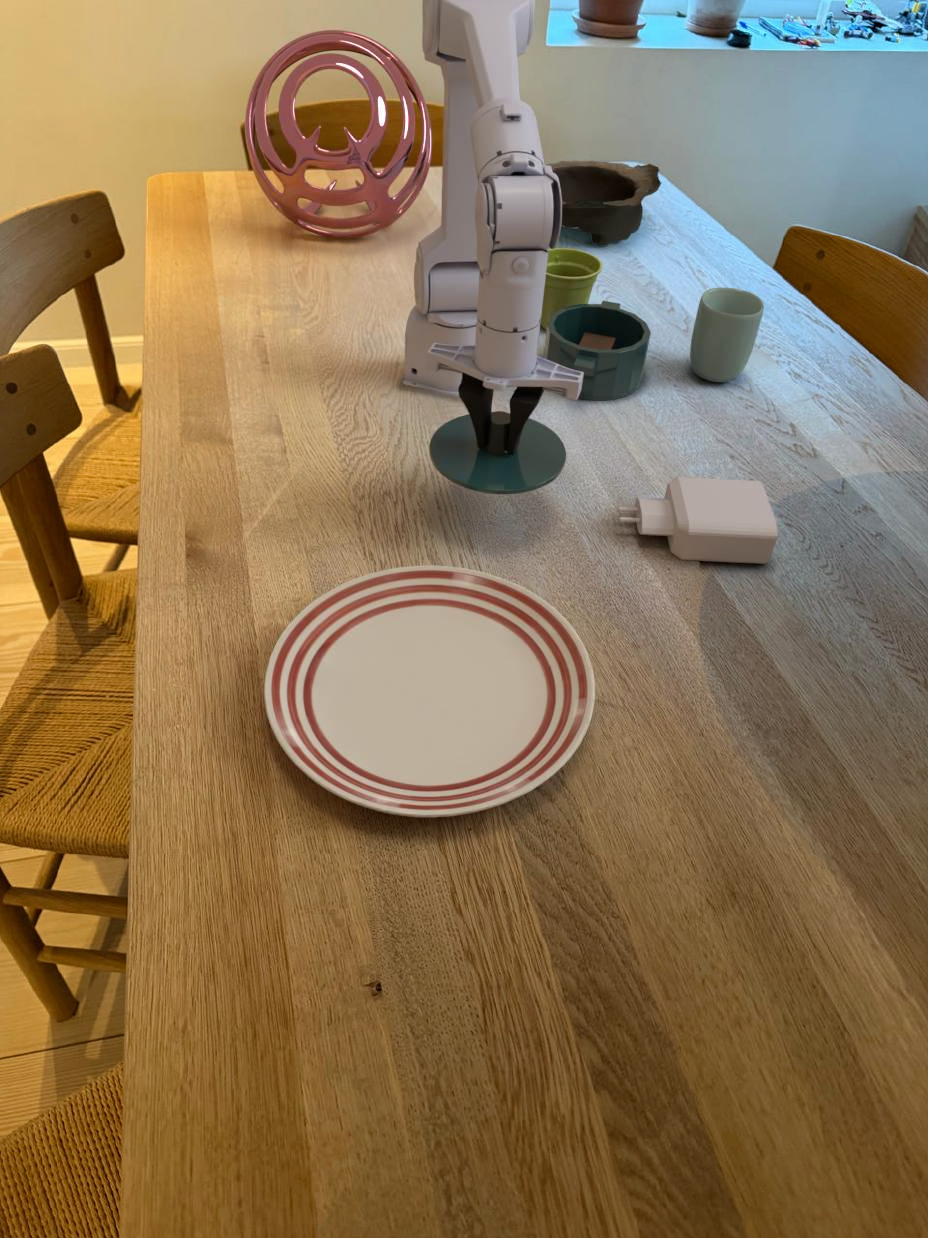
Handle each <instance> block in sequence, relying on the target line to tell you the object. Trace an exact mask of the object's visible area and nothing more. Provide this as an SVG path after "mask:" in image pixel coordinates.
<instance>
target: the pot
mask: <svg viewBox="0 0 928 1238" xmlns="http://www.w3.org/2000/svg"><path fill="white" fill-rule="evenodd" d="M585 332H586V333H591V334H597V335H602V336H607V337H613V338H616V339H615V345H614V350H598V349H593V348H588V347H582V346H579V344H580V342H581V339H582V337H583V335H584V333H585ZM651 335H652V332H651V330H650V328H649V325H648V323H647V322H646V321H645V320H643V319H642V318H641V317H640V316H639V315H637V314H636V313H633V312H630V311H628V310H625V309H623V308H621V303H618V302H614V301H613V302H612V301H606V300H602V301H601V303H588V304H577V305H573V306H568V307H563V308H562V309H560V310H558V311H556V312H555V313H553V314H552V315H551V317H550V318H549V320H548V322H547V328H546V329H545V337H544V338H545V339H544V347H543V354H542V355H543V356H542V358H544V359H547V360H549V361H552V362H554V363H557V364H559V365H561V366H564V367H567V368H569V369H573V370H576V371H581V372H584V375H583V382H582V389H581V392H580V395H579V397H578V399H581V400H589V401H611V400H618V399H621V398H625V397H627V396H629V395H632V394H633V393H634V392H635V391H637V390H638V388H639V387H640V385H641V382H642V378H643V374H644V371H645V364H646V359H647V354H648V351H649V350H648V349H649V344H650V340H651Z"/></svg>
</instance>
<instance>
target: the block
mask: <svg viewBox="0 0 928 1238" xmlns="http://www.w3.org/2000/svg"><path fill="white" fill-rule="evenodd" d="M615 339H616V338H613V337H607V336H602V335H597V334H591V333H586V332H585V333H584V335H583V337H582V339H581V342H580V344H579V346H582V347H588V348H593V349H598V350H614V345H615Z"/></svg>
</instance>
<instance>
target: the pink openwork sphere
mask: <svg viewBox="0 0 928 1238" xmlns="http://www.w3.org/2000/svg"><path fill="white" fill-rule="evenodd" d="M336 51H337V52H338V51H339V52H340V51H341V52H351V53H356V54H359V55H363V56H365V57H368V58H371V59H373V60H374V61H375V62H377V63H378V64H379V65H380V67H382V69H383V70H384V71H385V72H386V73H387V75H388V76H389V77H390V79H391V81H392V83H393V85H394V87H395V89H396V92H397V94H398V97H399V101H400V105H401V113H402V127H401V134H400V138H399V142H398V144H397V148H396V150H395V152H394V154H393V156H392V157H391V159H390V161H389V162H388V163H387V165H386V166H385V167H384V168H383V169H382V170H381V171H377V170H376V169H375V168H374V166H373V165H372V161H371V160H372V159H371V158H372V157H373V154H375V152H376V151H377V150H378V148H379V147H380V145H381V143H382V141H383V139H384V136H385V134H386V130H387V127H388V117H389V112H388V109H389V108H388V102H387V98H386V95H385V92H384V89H383V87H382V85H381V83H380V81H379V80H378V78H377V76H375V74H374V73H373V72H372V71H371V70H370V69H369V68H368V67H367V66H366V65H365V64H364V63H362V62H360V61H359V60H357V59H356V58H354V57H351V56H348V55H346V54H341V53H332V52H336ZM324 52H327V53H324ZM329 52H331V53H329ZM319 53H321V54H319ZM312 55H314V56H312ZM310 56H311V57H310ZM307 57H309V58H307ZM305 58H307V59H305ZM302 59H305V60H303V61H302V62H300V63H299V64H298V65H296V67H294V69H293V70H292V71H291V72H290V73H289V74H288V76H287V78H286V79H285V81H284V84H283V86H282V88H281V90H280V94H279V98H278V99H279V100H278V120H279V125H280V128H281V131H282V135H283V137H284V138H285V140H286V142H287V143H288V146H289V147H290V148H291V149H292V151H293V153H294V154H295V157H296V159H295V162H294V165H293V166H292V167H291V168H289V167H288V166H286V165H285V163H284V162H283V161H282V160H281V158H280V157H279V155H278V153H277V151H276V150H275V148H274V146H273V143H272V140H271V138H270V134H269V130H268V125H267V124H268V123H267V105H268V99H269V94H270V91H271V89H272V86H273V84H274V82H275V81H277V79H278V78H279V77H280V75H282V74H283V72H284V71H286V70H287V69H289V67H291V66H293V65H294V64H295V63H298V62H299V61H300V60H302ZM324 70H339V71H342V72H345V73H347V74H349V75H350V76H352V77H354V78H355V79H356V80H357V81H358V82H359V83H360V85H361V86H362V87H363V88H364V90H365V92H366V94H367V97H368V99H369V105H370V118H369V123H368V126H367V129H366V130H365V132H364V134H363V135H362V137H361V138H360V139H356V138H355V136H353V134H352V133H351V132H350V130H348V128H347V127H345V126H343V127H342V128H343V132H344V135H345V137H346V141H347V144H348V145H347V147H346V148H344V149H339V150H329V149H324V148H321V147H319V145H318V139H319V136H320V134H321V131H322V125H318V126H317V128H316V129H315V130H314V131H313V132H312V134H311V135H309V137H306V136H305V135H304V134H303V132H302V131H301V129H300V127H299V125H298V122H297V119H296V114H295V113H296V111H295V106H296V105H295V104H296V98H297V96H298V93H299V90H300V88H301V86H302V85H303V84H304V82H305V81H307V79H308V78H310V77H311V76H312V75H313V74H314V75H315V73H318V72H321V71H324ZM412 98H413V99H414V100H415V102H416V105H417V108H418V110H419V112H420V116H421V117H420V118H421V145H420V150H419V154H418V158H417V161H416V163H415V166H414V168H413V171H412V172H411V175H410V176H409V178H408V180H407V181H406V182H405V184H404V186H403V187H402V188H401V189H400V190H399V192H397V194H395V195H394V196H391V195H389V189H390V187H391V186H392V184H393V183H394V182H395V181H396V179H398V177H399V176H400V174H401V173H402V171H403V170H404V168H405V166H406V164H407V162H408V160H409V158H410V155H411V153H412V149H413V145H414V141H415V135H416V113H415V112H416V111H415V105H414V102H413V99H412ZM244 135H245V142H246V149H247V153H248V155H249V156H248V158H249V161H250V165H251V168H252V171H253V174H254V176H255V179H256V181H257V183H258V185H259V187H260V189H261V190H262V192H263V194H264V195H265V197H266V199H268V201H269V202H270V203H271V205H272V206H273V207H274V209H276V210H277V211H278V212H279V213H280V214H281V215H282V216H283V217H285V219H287V220H288V221H290V222H291V223H293V224H294V225H295V226H297V227H299V228H301V229H303V230H305V231H307V232H309V233H312V234H314V235H318V236H321V237H325V238H330V239H344V240H345V239H357V238H362V237H367V236H369V235H372V234H375V233H378V232H380V231H382V230H384V229H386V228H388V227H389V226H391V225H393V224H394V223H395V222H397V221H398V220H399V219H400V218H401V217H402V216H403V215H404V214H405V213H406V212H407V211H408V210H409V209H410V207H412V205H413V204H414V203H415V201H416V200H417V198H418V197H419V195H420V193H421V191H422V190H423V187H424V185H425V183H426V180H427V177H428V174H429V171H430V167H431V164H432V163H431V162H432V156H433V155H432V154H433V131H432V124H431V119H430V114H429V111H428V107H427V103H426V100H425V97H424V94H423V92H422V90H421V87H420V86H419V83H418V82H417V80H416V78H415V77H414V75H413V73H412V72H411V70H410V69H409V68H408V66H407V65H406V64H405V63H404V61H403V60H401V58H399V56H397V54H395V53H394V52H393V51H392V50H391V49H389V48H388V47H387V46H385V45H383V44H382V43H381V42H379V41H377V40H375V39H373V38H371V37H369V36H366V35H364V34H361V33H357V32H354V31H349V30H342V29H326V30H317V31H312V32H309V33H305V34H304V35H300V36H299V37H296V38H294V39H293V40H291V41H289V42H288V43H286V44H284V45H283V46H282V47H281V48H279V49H277V51H276V52H274V53H273V55H271V57H270V58H269V59H268V60H267V61H266V63H265V64H264V65H263V67H262V68H261V69H260V71H259V72H258V74H257V76H256V77H255V80H254V81H253V83H252V87H251V90H250V92H249V95H248V99H247V103H246V107H245V115H244ZM255 136H256V137H257V138H256V137H255ZM256 139H257V142H258V146H259V148H260V151H261V153H262V156H263V158H264V160H265V162H266V164H267V165H268V167H269V168H270V170H271V171H272V172H273V174H274V175H275V176H276V177H277V179H278V180H279V181H280V183H281V185H282V187H283V192H280V191H279V190H278V189H277V188H276V187H275V185H274V184H273V183H272V182H271V181H270V179H269V177H268V176H267V174H266V172H265V171H264V169H263V167H262V165H261V162H260V160H259V158H258V154H257V151H256ZM308 167H315V168H318V169H320V170H321V169H322V170H326V171H345V170H350V169H352V168H357V169H359V170H360V172H361V174H362V176H363V181H362V183H360V182H359V180H357V179H355V181H354V182H355V185H356V186H355V187H352V188H351V187H350V188H345V189H335V186H336V184H337V183H338V179H334V180H333V181H331V182H330V183H329V184H328V186H327V187H326V188H323V187H319V186H316V185H313V184H311V183H309V182H308V181H307V180H306V175H305V174H306V172H307V168H308ZM300 199H305V200H307V201H310V203H308V204H307V205H306V206H304V207H301V205H299V202H298V201H299V200H300ZM363 202H364V203H365V204H366V206H367V208H368V209H369V210H370V211H369V212H368V213H365V214H361V215H357V216H352V217H341V218H340V217H339V218H337V217H336V218H335V217H327V216H323V215H318V214H317V212H318V211H319V210H320V209H321V208H322V206H330V207H345V206H353V205H358V204H360V203H363ZM373 224H374V225H373ZM370 225H373V226H370ZM367 226H370V227H367ZM363 227H366V228H363ZM323 228H324V229H323ZM359 228H363V229H359ZM327 229H330V230H327ZM352 229H359V230H353V231H334V230H352Z"/></svg>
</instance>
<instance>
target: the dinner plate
mask: <svg viewBox="0 0 928 1238" xmlns="http://www.w3.org/2000/svg"><path fill="white" fill-rule="evenodd" d="M263 700H264V707H265V712H266V716H267V720H268V722H269V725H270V728H271V731H272V733H273V735H274V737H275V739H276V741H277V742H278V744H279V745H280V747H281V749H282V750H283V751H284V753H285V755H286V756H287V757H288V758H289V759H290V761H291V762H292V763H293V764H294V765H295V766H296V767H297V768H298V769H299V770H300V771H301V772H302V773H304V775H306V776H307V777H308V778H309V779H311V780H312V781H313V782H314V783H316V785H319V786H320V787H322V788H323V789H325V790H327V791H328V792H330V793H332V794H334V795H335V796H337V797H338V798H341V799H343V800H345V801H347V802H350V803H352V804H355V805H357V806H360V807H362V808H366V809H370V810H372V811H376V812H381V813H384V814H389V815H395V816H402V817H411V818H438V817H439V818H445V817H446V818H449V817H456V816H461V815H468V814H469V815H470V814H474V813H478V812H482V811H486V810H490V809H493V808H496V807H498V806H501V805H504V804H506V803H509V802H511V801H514V800H517V799H518V798H521V797H522V796H524V795H526V794H528V793H530V792H531V791H533V790H534V789H536V788H539V786H540V785H542V784H544V783H545V782H546V781H547V780H549V779H550V778H551V777H553V776H554V775H556V773H557V772H558V771H559V770H560V769H562V768H563V767H564V766H565V764H567V762H568V761H569V760H570V759H571V758H572V757H573V755H574V753H575V752H576V751H577V750H578V748H579V747H580V746H581V744H582V742H583V739H584V737H585V736H586V734H587V731H588V729H589V727H590V724H591V721H592V717H593V713H594V709H595V702H596V680H595V673H594V669H593V665H592V662H591V659H590V655H589V653H588V650H587V649H586V646H585V644H584V643H583V641H582V639H581V637H580V636H579V634H578V632H577V631H576V630H575V628H574V627H573V626H572V625H571V624H570V622H569V621H568V620H567V618H565V616H564V615H563V614H562V613H560V612H559V610H557V609H556V608H555V607H554V606H553V605H551V604H550V603H549V602H548V601H546V600H544V599H543V598H542V597H540V595H537V594H536V593H535V592H533V591H531V590H529V589H527V588H525V587H523V586H522V585H520V584H517V583H515V582H513V581H510V580H508V579H505V578H502V577H500V576H496V575H494V574H492V573H488V572H484V571H480V570H476V569H472V568H466V567H459V566H451V565H433V564H431V565H430V564H429V565H428V564H427V565H425V564H422V565H410V566H399V567H394V568H388V569H383V570H378V571H374V572H371V573H367V574H364V575H361V576H357V577H355V578H352V579H350V580H348V581H346V582H343V583H341V584H339V585H338V586H336V587H333V588H332V589H330V590H328V591H326V592H325V593H323V594H321V595H320V596H318V597H317V598H316V599H314V600H312V602H310V603H309V604H308V605H307V606H305V608H303V609H301V611H300V612H299V613H298V614H297V615H295V617H294V618H293V619H292V620H291V621H290V623H289V624H288V625H287V626H286V628H285V629H284V631H283V632H282V633H281V635H280V637H278V640H277V641H276V643H275V646H274V648H273V650H272V652H271V653H270V657H269V659H268V663H267V666H266V669H265V674H264V682H263Z"/></svg>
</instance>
